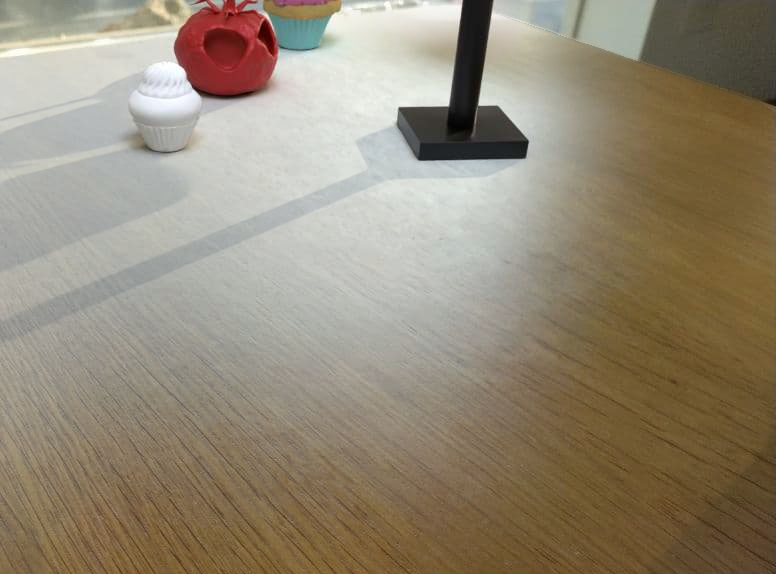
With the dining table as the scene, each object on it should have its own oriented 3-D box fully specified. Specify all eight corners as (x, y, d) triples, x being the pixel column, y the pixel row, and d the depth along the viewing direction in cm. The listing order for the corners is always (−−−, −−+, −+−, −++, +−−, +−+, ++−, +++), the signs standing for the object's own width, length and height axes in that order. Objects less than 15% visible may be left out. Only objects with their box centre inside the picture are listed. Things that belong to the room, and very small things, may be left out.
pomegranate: (157, 81, 97) (153, -19, 92) (242, 66, 102) (242, -30, 96) (210, 109, 90) (208, 3, 85) (298, 91, 95) (302, -11, 90)
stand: (495, 121, 88) (521, -41, 80) (526, 158, 81) (557, -17, 73) (396, 123, 87) (412, -40, 80) (418, 160, 80) (438, -16, 72)
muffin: (218, 144, 83) (217, 60, 79) (166, 164, 79) (163, 76, 75) (167, 127, 86) (163, 45, 82) (115, 146, 82) (109, 61, 78)
